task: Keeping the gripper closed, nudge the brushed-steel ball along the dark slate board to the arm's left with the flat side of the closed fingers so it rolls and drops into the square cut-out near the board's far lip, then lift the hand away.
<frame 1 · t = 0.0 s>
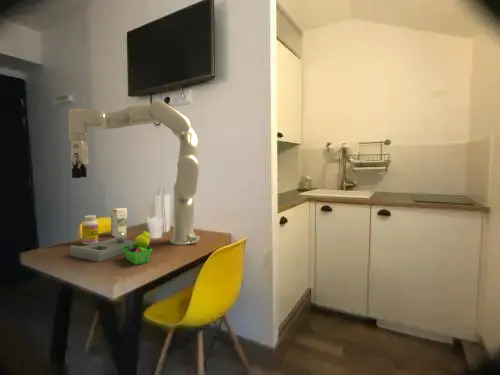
hand: (79, 177, 125), 31 cm above the table, tool pointing down, fingers open, 9 cm apart
fruit basket: (138, 260, 112), on the table
syrup box: (119, 235, 150), on the table
supplement bottle: (90, 243, 134), on the table
ball: (120, 236, 128), point 5 cm above the table, touching board
board: (107, 251, 122), on the table
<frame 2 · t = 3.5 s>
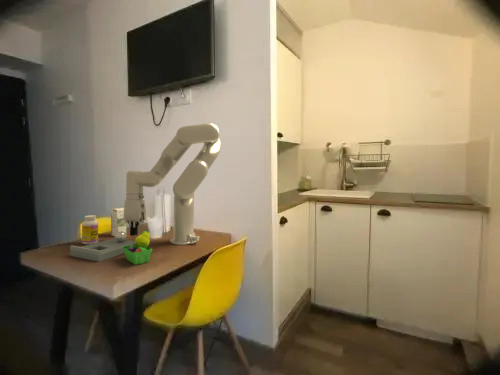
hand: (133, 234, 136), 4 cm above the table, tool pointing down, fingers closed
nothing on the table moved.
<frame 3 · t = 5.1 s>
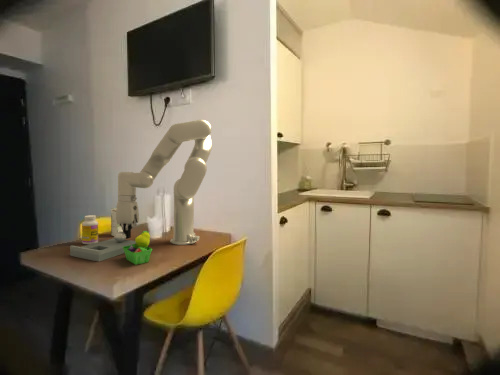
hand: (126, 238, 131), 3 cm above the table, tool pointing down, fingers closed
ball: (120, 236, 128), point 5 cm above the table, tilted 6°, touching board
everything else where it was.
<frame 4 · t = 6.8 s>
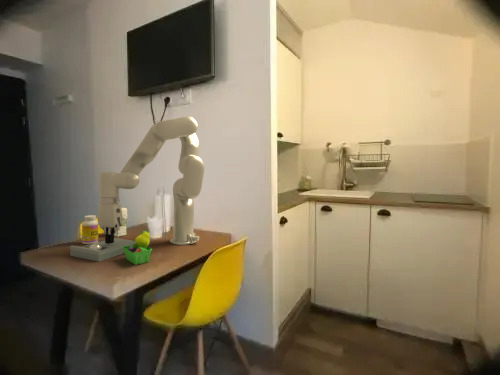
hand: (109, 242, 123), 3 cm above the table, tool pointing down, fingers closed
ball: (95, 249, 116), point 2 cm above the table, tilted 38°
everything else where it was.
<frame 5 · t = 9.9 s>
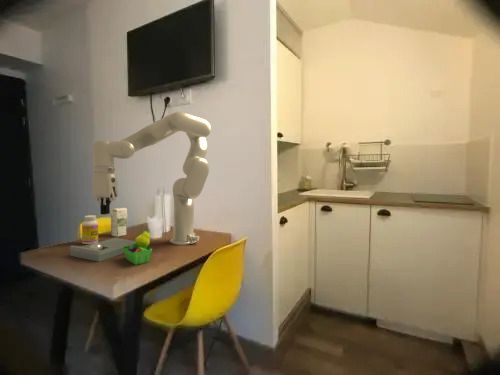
hand: (105, 213, 119), 16 cm above the table, tool pointing down, fingers closed
ball: (96, 248, 117), point 2 cm above the table, tilted 45°
everything else where it was.
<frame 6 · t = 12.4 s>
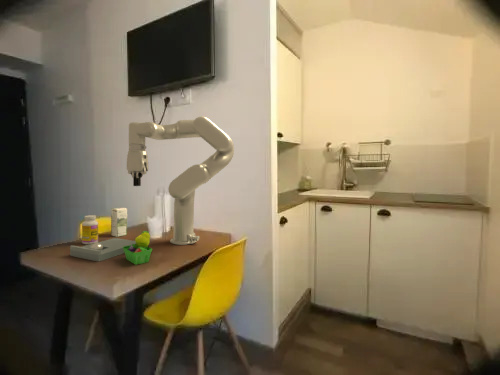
hand: (137, 185, 140), 27 cm above the table, tool pointing down, fingers closed
ball: (96, 248, 117), point 2 cm above the table, tilted 51°
everything else where it was.
at the end: ball 0.3 cm from the target spot in the board, point 2.4 cm above the board's base; ball point 2.4 cm above the table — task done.
